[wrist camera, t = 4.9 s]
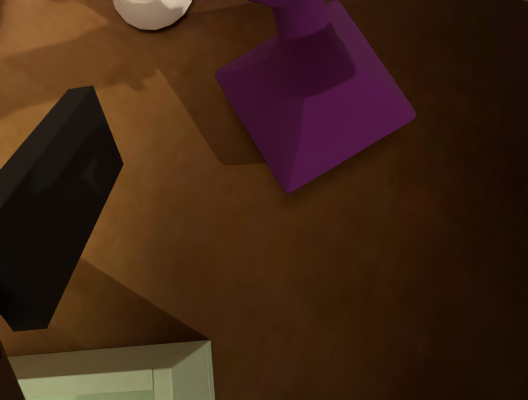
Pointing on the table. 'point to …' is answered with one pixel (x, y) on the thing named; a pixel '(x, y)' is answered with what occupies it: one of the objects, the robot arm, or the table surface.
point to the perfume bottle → (312, 91)
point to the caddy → (119, 373)
